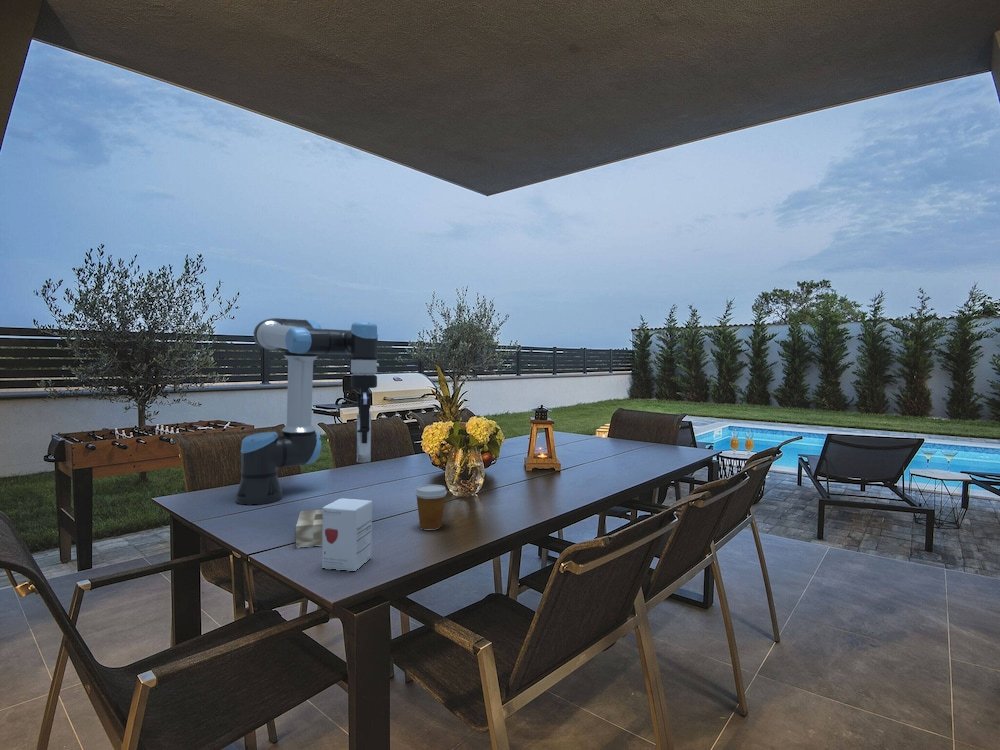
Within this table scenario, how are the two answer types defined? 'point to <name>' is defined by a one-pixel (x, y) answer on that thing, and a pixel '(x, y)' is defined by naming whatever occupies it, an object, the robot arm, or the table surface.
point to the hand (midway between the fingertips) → (363, 452)
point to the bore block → (309, 528)
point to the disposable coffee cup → (430, 505)
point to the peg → (360, 457)
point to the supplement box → (346, 534)
